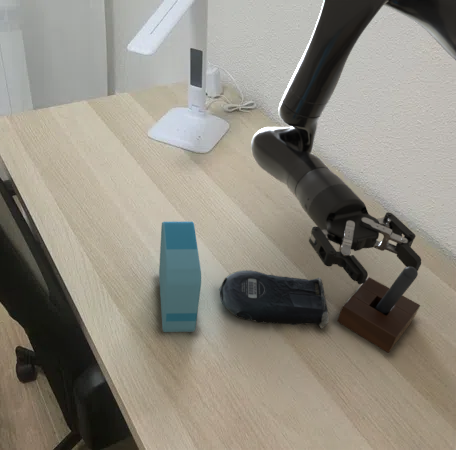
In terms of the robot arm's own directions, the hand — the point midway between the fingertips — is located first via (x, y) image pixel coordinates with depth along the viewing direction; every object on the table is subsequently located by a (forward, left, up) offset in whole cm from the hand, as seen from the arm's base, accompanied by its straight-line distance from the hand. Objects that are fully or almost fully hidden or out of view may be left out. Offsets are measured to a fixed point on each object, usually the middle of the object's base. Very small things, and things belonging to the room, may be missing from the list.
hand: (391, 273), depth 75 cm
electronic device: (+8, -12, -9) cm, 18 cm away
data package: (+18, -22, -9) cm, 30 cm away
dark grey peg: (0, 0, -9) cm, 9 cm away
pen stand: (0, +1, -9) cm, 9 cm away
